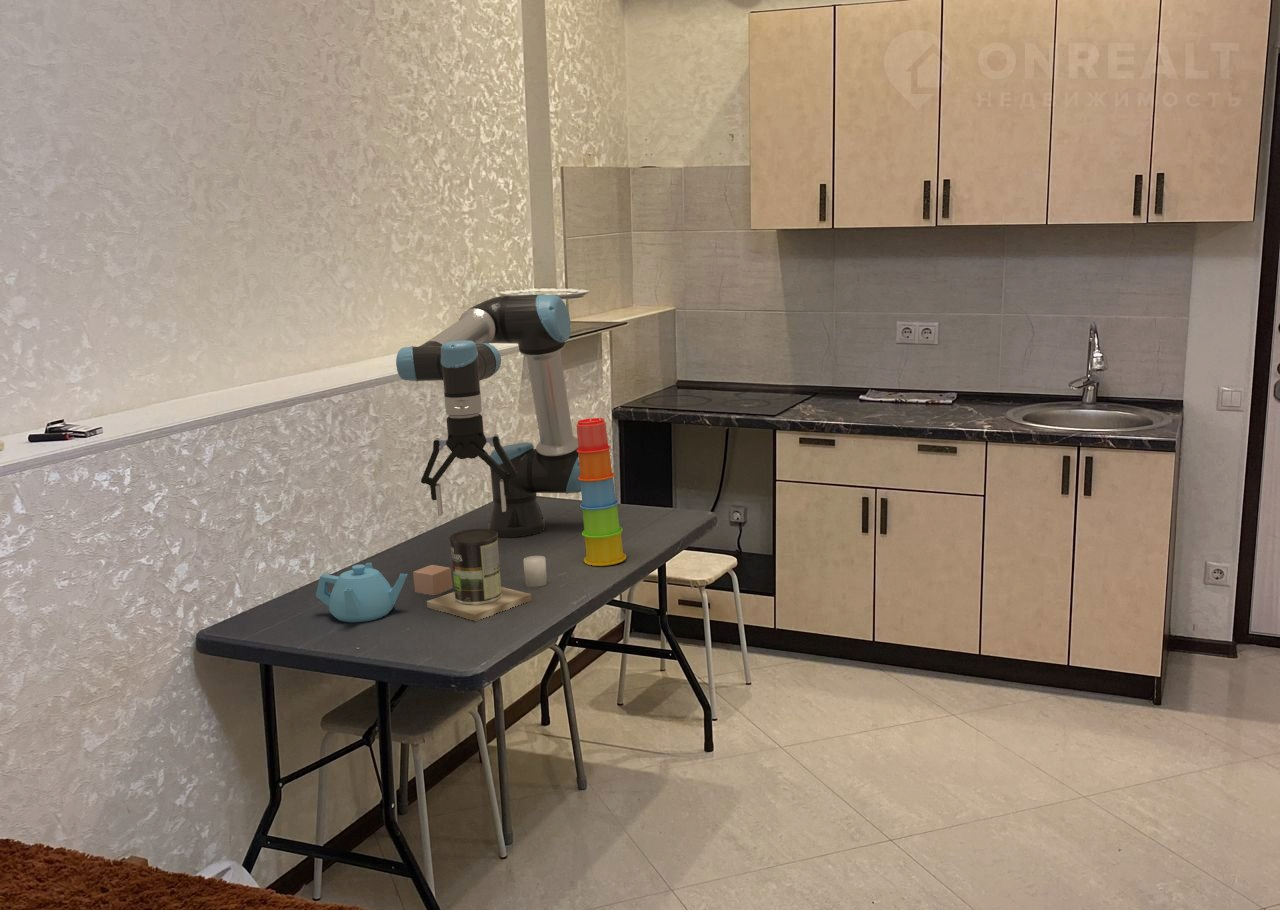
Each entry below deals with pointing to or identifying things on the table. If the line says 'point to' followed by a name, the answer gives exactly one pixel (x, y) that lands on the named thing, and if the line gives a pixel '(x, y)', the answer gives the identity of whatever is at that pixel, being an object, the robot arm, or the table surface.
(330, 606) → the teapot
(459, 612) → the birch board
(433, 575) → the terracotta block
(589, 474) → the stacking cups
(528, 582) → the off-white cylinder
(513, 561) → the table surface
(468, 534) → the coffee can
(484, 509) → the table surface
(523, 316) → the robot arm
